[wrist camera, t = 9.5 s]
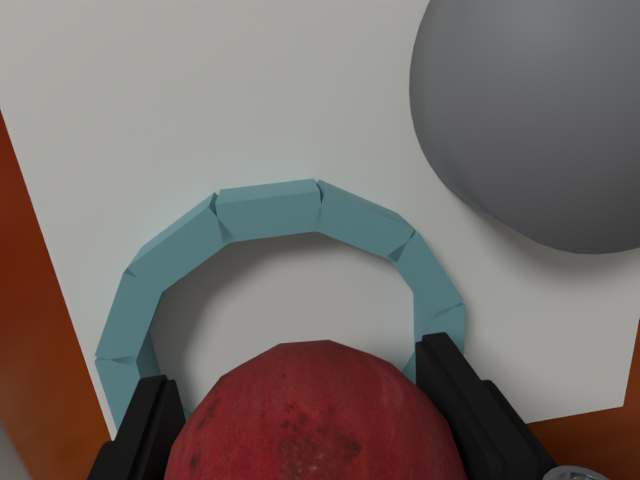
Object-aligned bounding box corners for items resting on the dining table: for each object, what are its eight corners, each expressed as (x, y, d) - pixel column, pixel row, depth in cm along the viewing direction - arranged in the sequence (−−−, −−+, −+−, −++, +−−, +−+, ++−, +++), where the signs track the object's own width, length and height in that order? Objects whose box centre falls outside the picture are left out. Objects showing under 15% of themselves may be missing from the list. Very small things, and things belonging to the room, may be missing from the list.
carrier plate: (667, -91, 12) (883, -182, 8) (594, 380, 18) (697, 473, 14) (-15, -42, 11) (-197, -125, 6) (141, 458, 16) (99, 590, 12)
